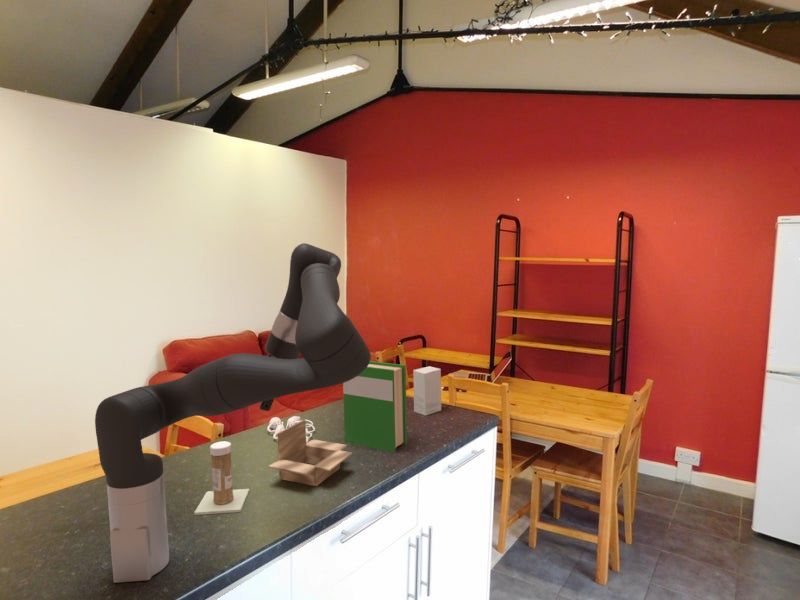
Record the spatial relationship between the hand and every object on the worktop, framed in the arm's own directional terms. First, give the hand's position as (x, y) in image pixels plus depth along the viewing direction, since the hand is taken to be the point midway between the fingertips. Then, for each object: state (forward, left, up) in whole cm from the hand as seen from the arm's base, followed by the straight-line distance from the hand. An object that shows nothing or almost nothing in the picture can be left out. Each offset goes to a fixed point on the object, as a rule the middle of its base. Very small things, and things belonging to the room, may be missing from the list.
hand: (263, 399), depth 112 cm
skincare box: (+63, -46, -25) cm, 82 cm away
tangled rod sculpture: (+48, 0, -26) cm, 54 cm away
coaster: (+4, +11, -25) cm, 28 cm away
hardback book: (+36, -26, -25) cm, 51 cm away
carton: (+16, -10, -25) cm, 32 cm away
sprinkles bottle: (+4, +11, -25) cm, 27 cm away
